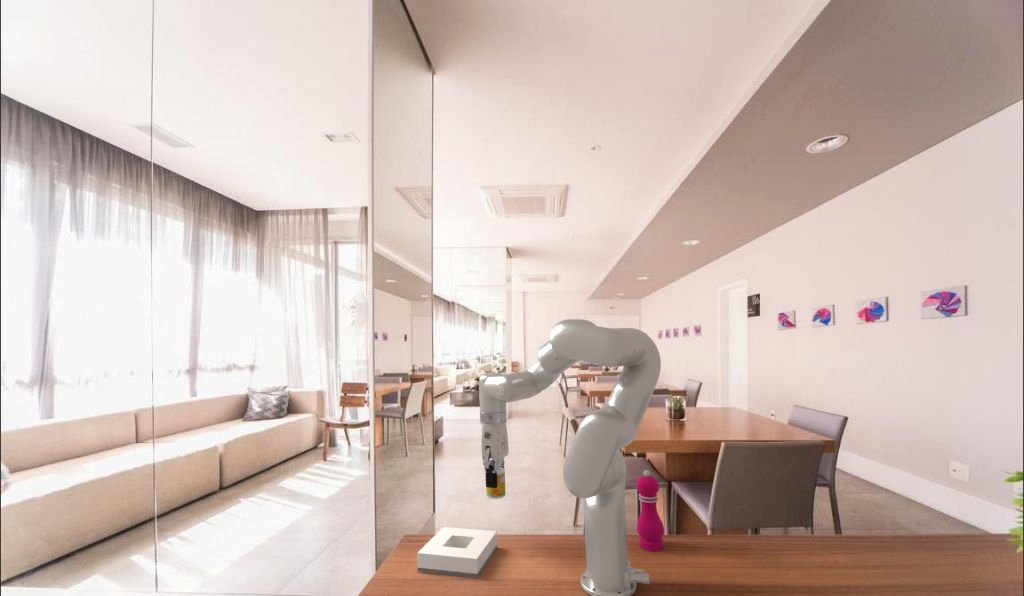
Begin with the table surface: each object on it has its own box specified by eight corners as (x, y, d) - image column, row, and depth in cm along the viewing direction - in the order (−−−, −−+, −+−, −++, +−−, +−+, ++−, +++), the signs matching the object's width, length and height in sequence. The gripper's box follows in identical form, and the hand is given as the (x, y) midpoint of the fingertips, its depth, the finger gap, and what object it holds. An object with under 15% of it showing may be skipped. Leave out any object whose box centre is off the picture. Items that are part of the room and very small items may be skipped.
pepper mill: (667, 553, 119) (661, 474, 121) (638, 551, 121) (633, 473, 123) (663, 540, 127) (658, 466, 128) (636, 539, 128) (632, 466, 130)
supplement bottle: (482, 497, 126) (481, 461, 127) (492, 491, 131) (491, 456, 131) (499, 500, 123) (498, 463, 124) (509, 494, 128) (507, 458, 129)
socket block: (497, 548, 126) (496, 531, 126) (477, 578, 111) (476, 558, 111) (443, 543, 130) (443, 526, 131) (417, 571, 115) (417, 552, 115)
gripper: (495, 423, 119) (498, 495, 118) (515, 412, 136) (517, 475, 134) (469, 423, 122) (471, 493, 120) (491, 412, 138) (493, 473, 136)
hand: (495, 482), depth 127 cm, fingers closed on supplement bottle, 5 cm apart
